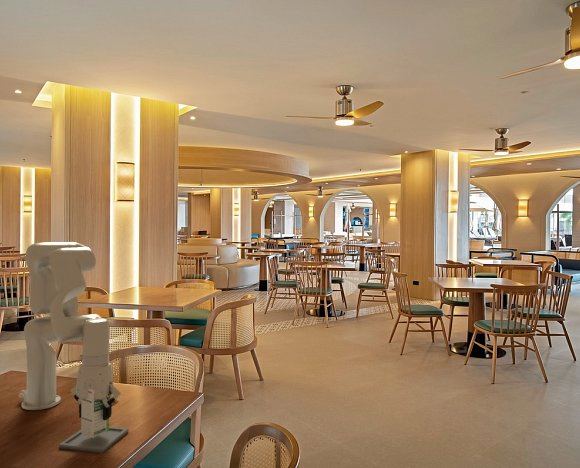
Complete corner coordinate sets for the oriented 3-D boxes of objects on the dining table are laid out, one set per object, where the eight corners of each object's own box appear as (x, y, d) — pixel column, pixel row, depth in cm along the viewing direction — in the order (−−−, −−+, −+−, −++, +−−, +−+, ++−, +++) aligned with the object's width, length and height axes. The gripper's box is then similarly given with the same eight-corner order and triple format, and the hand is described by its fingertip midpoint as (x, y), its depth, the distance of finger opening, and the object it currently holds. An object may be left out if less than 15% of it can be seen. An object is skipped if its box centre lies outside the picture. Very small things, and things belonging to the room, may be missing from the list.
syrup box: (92, 438, 134) (93, 390, 134) (80, 433, 138) (81, 386, 137) (109, 431, 139) (109, 384, 139) (97, 426, 142) (97, 380, 142)
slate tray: (59, 448, 133) (59, 444, 133) (88, 427, 147) (88, 424, 146) (102, 453, 130) (102, 449, 130) (128, 432, 144) (128, 428, 144)
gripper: (62, 361, 136) (61, 419, 136) (114, 365, 133) (114, 425, 133) (78, 354, 143) (77, 410, 144) (128, 358, 140) (127, 415, 140)
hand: (95, 416), depth 138 cm, fingers closed on syrup box, 7 cm apart
